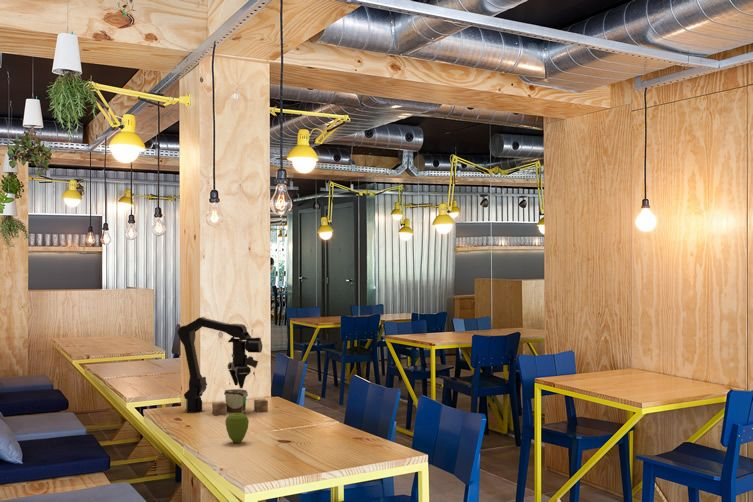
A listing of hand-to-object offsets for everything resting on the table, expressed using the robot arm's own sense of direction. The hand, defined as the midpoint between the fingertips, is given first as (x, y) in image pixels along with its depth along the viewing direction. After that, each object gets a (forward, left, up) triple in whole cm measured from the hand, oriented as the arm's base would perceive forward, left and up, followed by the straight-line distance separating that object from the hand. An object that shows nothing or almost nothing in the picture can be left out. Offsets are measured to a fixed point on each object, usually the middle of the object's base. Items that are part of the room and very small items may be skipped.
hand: (238, 386), depth 325 cm
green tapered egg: (-15, -56, -12) cm, 59 cm away
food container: (0, 0, -12) cm, 12 cm away
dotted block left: (-9, 0, -12) cm, 15 cm away
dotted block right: (+10, -1, -12) cm, 15 cm away
